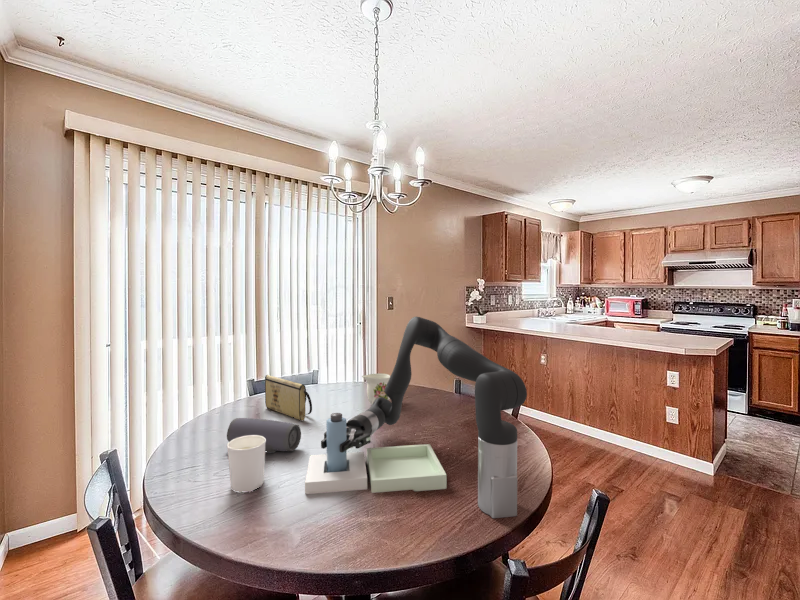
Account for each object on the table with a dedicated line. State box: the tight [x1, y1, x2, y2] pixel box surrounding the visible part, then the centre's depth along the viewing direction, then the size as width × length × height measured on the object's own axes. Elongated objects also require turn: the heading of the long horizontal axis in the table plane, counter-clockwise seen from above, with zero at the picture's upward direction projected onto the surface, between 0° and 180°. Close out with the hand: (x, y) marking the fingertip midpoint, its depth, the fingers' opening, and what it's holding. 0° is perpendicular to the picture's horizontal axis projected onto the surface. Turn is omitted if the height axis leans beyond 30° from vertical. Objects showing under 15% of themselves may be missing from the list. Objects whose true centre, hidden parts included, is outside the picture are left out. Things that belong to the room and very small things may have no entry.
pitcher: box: [361, 373, 391, 406], centre depth 175 cm, size 11×18×14 cm, turn 111°
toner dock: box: [304, 451, 368, 495], centre depth 108 cm, size 16×16×4 cm
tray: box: [366, 443, 447, 494], centre depth 111 cm, size 20×20×4 cm
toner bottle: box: [325, 412, 348, 473], centre depth 108 cm, size 6×6×18 cm
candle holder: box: [226, 435, 266, 492], centre depth 104 cm, size 10×10×12 cm
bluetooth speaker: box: [226, 417, 302, 453], centre depth 127 cm, size 23×9×10 cm, turn 74°
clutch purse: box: [264, 374, 313, 422], centre depth 163 cm, size 30×7×15 cm, turn 50°
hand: (331, 446), depth 105 cm, fingers closed on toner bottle, 5 cm apart
